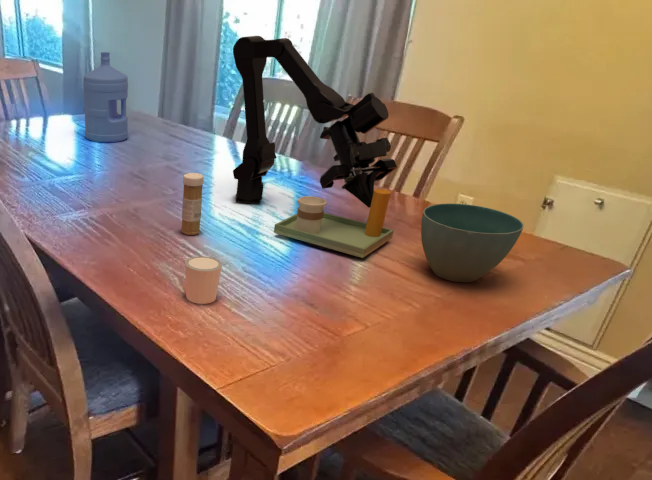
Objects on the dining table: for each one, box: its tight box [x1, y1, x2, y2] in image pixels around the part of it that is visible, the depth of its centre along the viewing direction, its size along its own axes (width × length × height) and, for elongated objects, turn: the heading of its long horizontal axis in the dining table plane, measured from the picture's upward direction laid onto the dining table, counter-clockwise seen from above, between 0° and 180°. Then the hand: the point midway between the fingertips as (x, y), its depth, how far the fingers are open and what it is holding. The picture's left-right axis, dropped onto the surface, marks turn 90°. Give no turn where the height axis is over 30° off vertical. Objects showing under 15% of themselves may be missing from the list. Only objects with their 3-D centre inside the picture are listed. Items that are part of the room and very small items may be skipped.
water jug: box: [82, 51, 129, 144], centre depth 216 cm, size 16×16×28 cm
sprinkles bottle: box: [180, 172, 205, 236], centre depth 141 cm, size 5×5×14 cm
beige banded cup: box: [295, 195, 328, 234], centre depth 141 cm, size 6×6×7 cm
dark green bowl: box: [420, 202, 525, 283], centre depth 124 cm, size 18×18×12 cm
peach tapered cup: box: [184, 255, 223, 305], centre depth 114 cm, size 7×7×7 cm
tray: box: [273, 188, 395, 259], centre depth 139 cm, size 22×16×11 cm
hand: (371, 206), depth 139 cm, fingers closed, pressing on tray
